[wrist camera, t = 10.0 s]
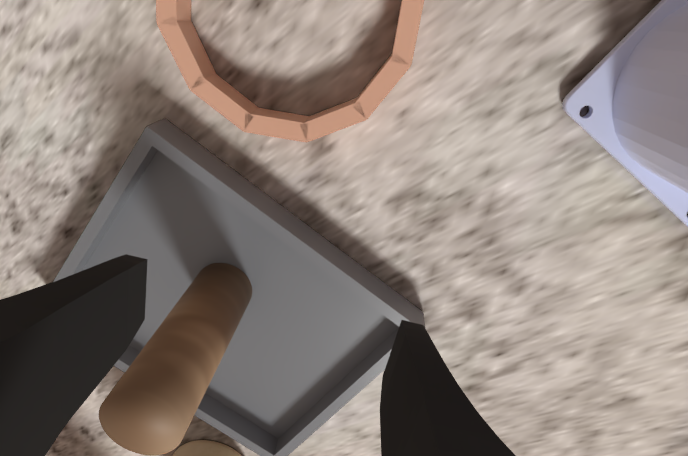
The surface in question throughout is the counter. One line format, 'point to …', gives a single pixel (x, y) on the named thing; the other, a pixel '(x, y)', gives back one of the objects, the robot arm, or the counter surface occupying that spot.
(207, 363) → the dowel
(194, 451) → the candle
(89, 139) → the counter surface
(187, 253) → the tray
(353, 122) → the ring
